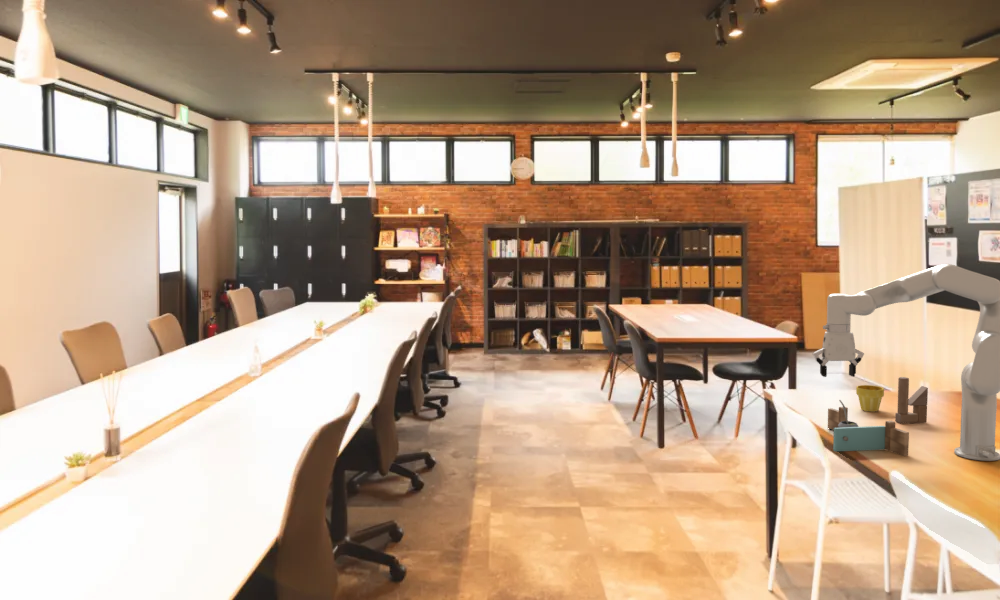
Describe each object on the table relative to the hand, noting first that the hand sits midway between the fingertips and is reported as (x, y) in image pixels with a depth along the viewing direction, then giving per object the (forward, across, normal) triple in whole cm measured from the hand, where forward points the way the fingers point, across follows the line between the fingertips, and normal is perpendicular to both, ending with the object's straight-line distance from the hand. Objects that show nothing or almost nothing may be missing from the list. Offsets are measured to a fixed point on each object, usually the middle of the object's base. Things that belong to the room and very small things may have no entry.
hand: (837, 376), depth 245 cm
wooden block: (+25, +40, +28) cm, 55 cm away
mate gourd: (+24, +2, -2) cm, 25 cm away
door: (+24, +4, -9) cm, 26 cm away
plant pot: (+24, +33, +48) cm, 63 cm away
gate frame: (+24, +10, +2) cm, 27 cm away
